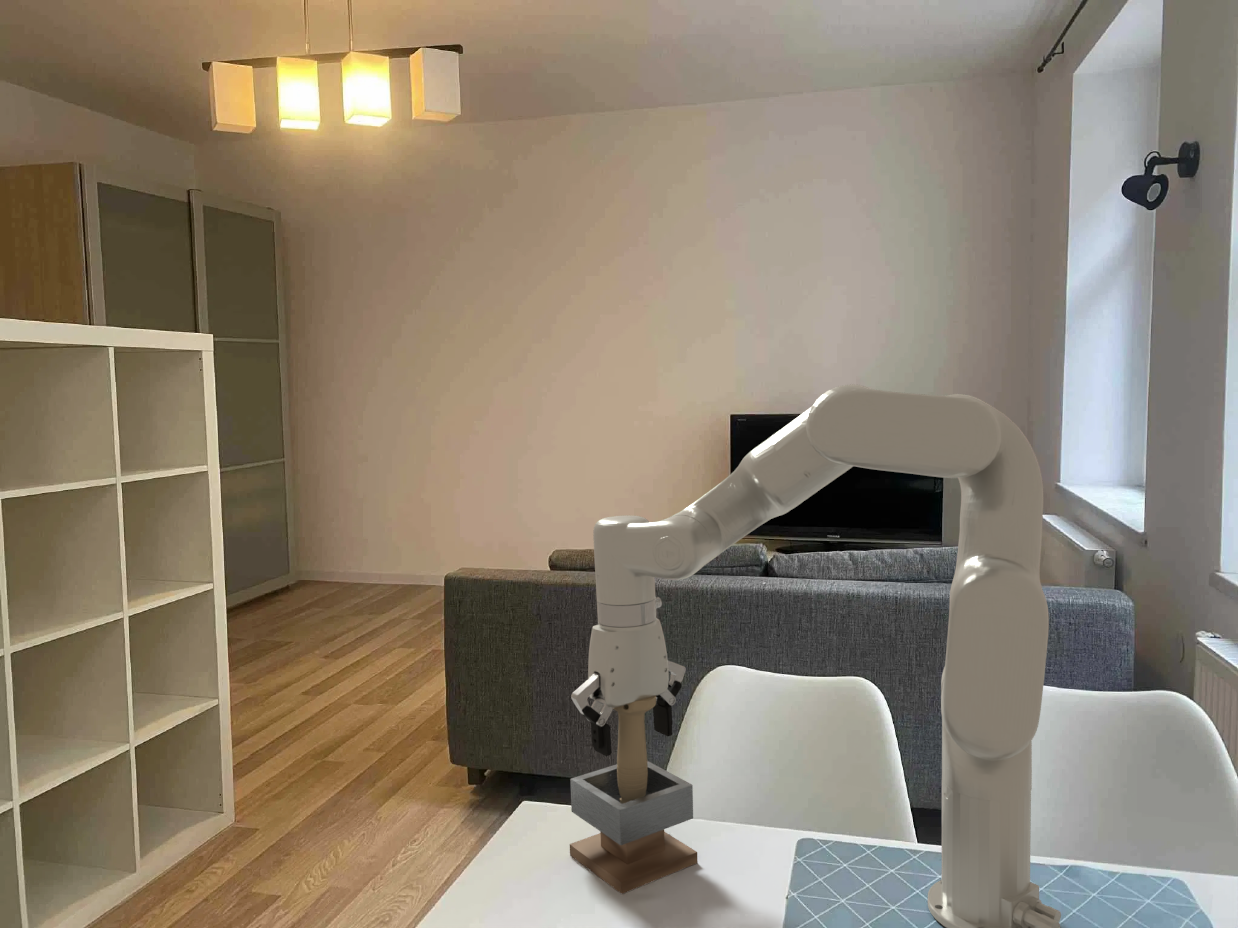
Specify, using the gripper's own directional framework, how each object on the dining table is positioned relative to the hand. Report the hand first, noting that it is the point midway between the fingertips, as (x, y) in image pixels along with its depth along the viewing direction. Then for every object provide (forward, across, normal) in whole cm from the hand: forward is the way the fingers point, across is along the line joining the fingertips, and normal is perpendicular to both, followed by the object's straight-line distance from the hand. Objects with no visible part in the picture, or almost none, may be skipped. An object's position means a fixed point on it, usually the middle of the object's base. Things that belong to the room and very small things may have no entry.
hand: (633, 742), depth 121 cm
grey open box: (+10, 0, -1) cm, 10 cm away
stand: (+16, 0, -1) cm, 16 cm away
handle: (+9, 0, 0) cm, 9 cm away
